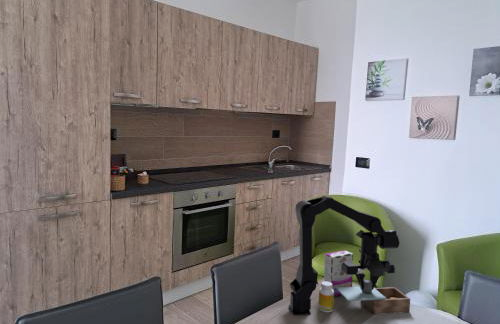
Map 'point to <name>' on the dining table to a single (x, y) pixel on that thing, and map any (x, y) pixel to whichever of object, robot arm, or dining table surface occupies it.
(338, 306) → the dining table surface
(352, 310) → the dining table surface
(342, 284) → the candy bar box
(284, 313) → the dining table surface
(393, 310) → the walnut box
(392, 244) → the robot arm
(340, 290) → the sliding cover
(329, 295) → the supplement bottle
